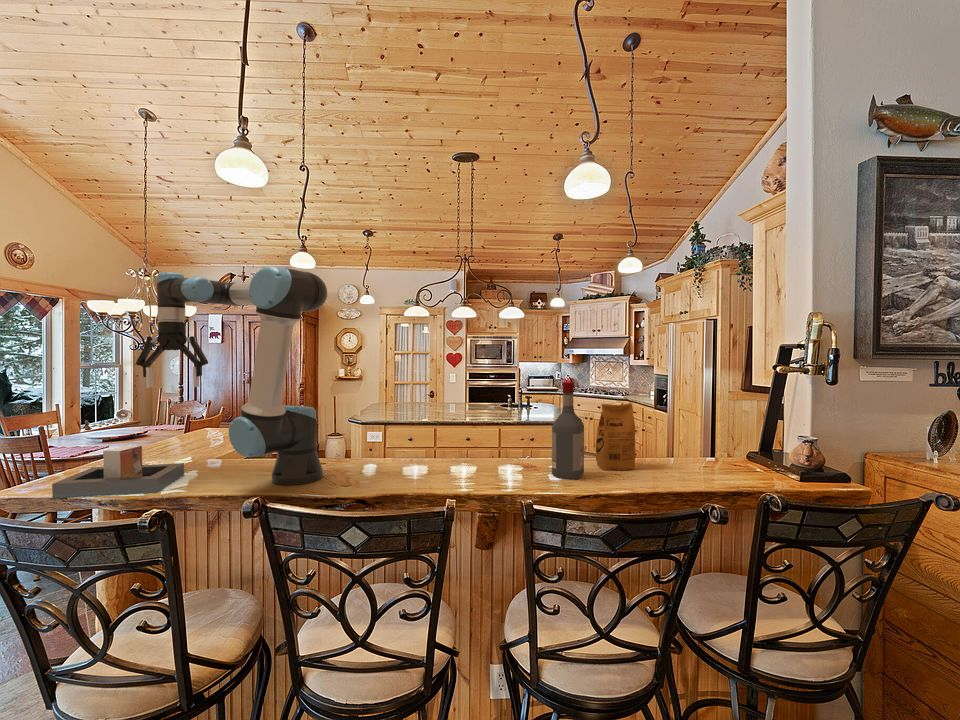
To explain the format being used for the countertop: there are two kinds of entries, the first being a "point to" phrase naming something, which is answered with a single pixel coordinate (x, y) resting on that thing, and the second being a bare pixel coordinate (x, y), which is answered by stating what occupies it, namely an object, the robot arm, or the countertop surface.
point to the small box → (123, 462)
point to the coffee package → (616, 438)
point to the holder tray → (117, 482)
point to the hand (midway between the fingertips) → (173, 387)
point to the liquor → (568, 440)
